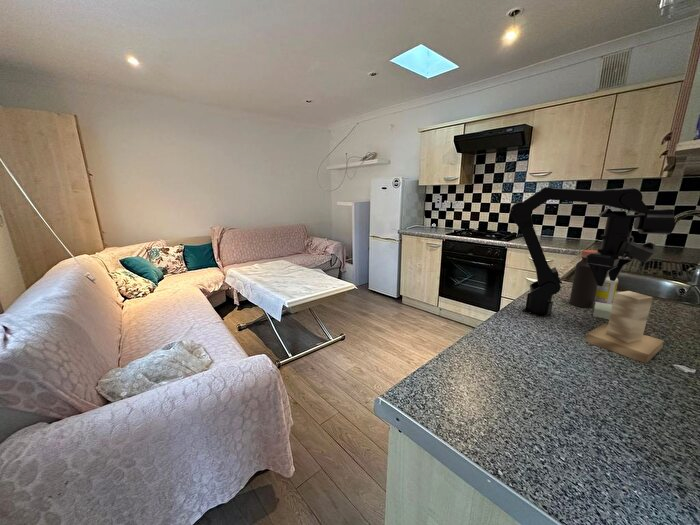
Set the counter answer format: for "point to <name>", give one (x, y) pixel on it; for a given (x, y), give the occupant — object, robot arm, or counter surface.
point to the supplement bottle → (606, 291)
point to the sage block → (602, 310)
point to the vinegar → (583, 283)
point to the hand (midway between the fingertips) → (606, 283)
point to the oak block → (625, 344)
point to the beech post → (629, 316)
